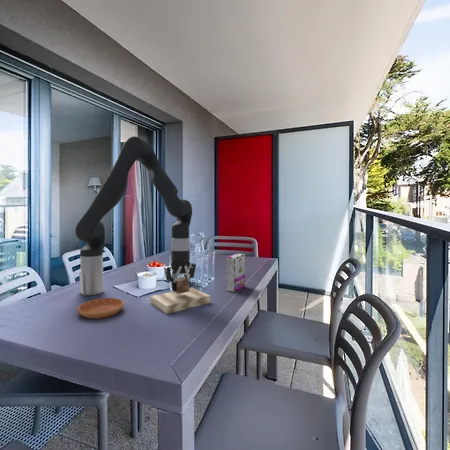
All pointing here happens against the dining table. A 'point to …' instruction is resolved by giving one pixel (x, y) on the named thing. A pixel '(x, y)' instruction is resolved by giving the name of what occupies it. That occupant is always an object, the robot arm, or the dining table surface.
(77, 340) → the dining table surface
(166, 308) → the wooden block
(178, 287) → the walnut cube
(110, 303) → the saucer
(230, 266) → the candy bar box
